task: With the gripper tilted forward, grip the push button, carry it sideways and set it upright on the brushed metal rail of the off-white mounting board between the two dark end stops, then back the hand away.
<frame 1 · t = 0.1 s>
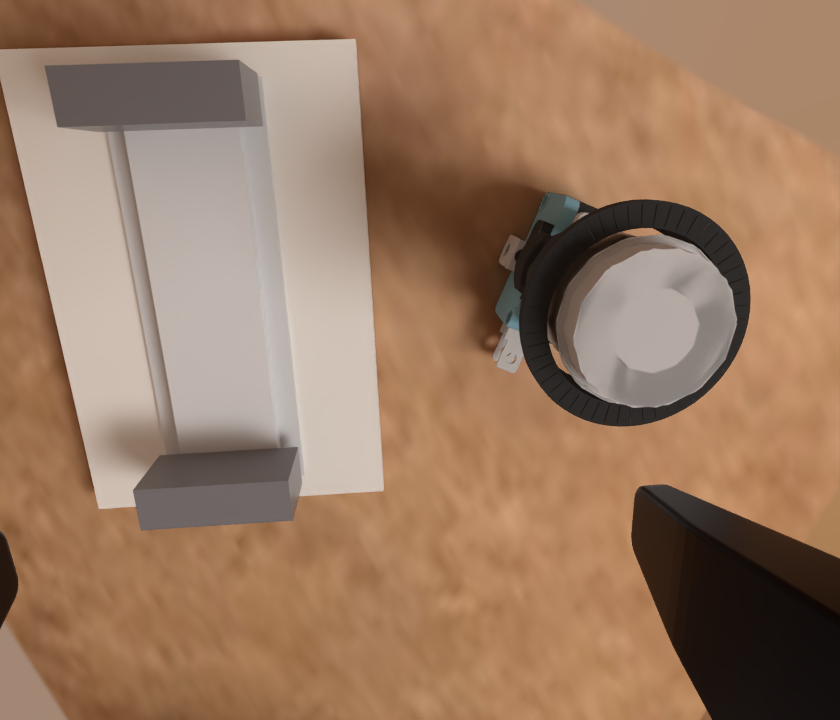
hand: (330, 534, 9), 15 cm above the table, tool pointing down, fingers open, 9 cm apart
push button: (530, 276, 23), on the table
rail board: (220, 292, 22), on the table
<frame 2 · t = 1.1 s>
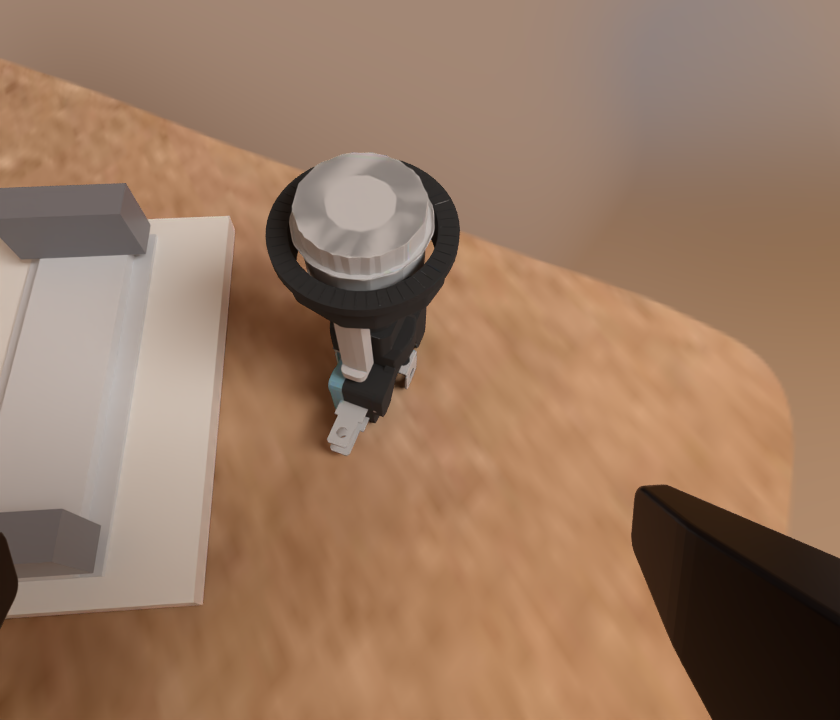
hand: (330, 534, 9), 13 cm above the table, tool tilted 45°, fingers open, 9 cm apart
push button: (371, 384, 25), on the table
rail board: (80, 397, 24), on the table
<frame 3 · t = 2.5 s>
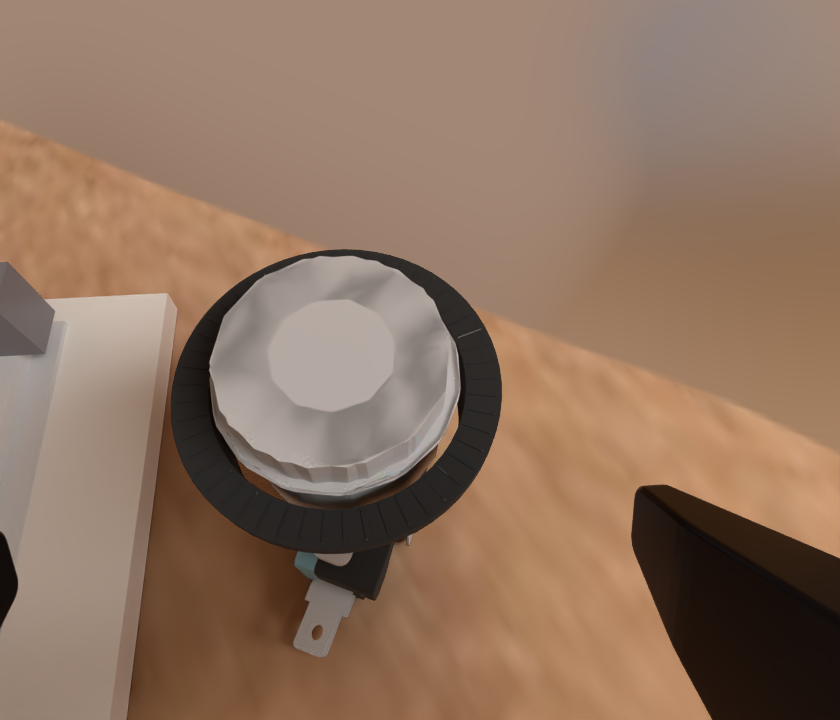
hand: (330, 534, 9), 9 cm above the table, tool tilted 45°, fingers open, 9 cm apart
push button: (359, 534, 18), on the table
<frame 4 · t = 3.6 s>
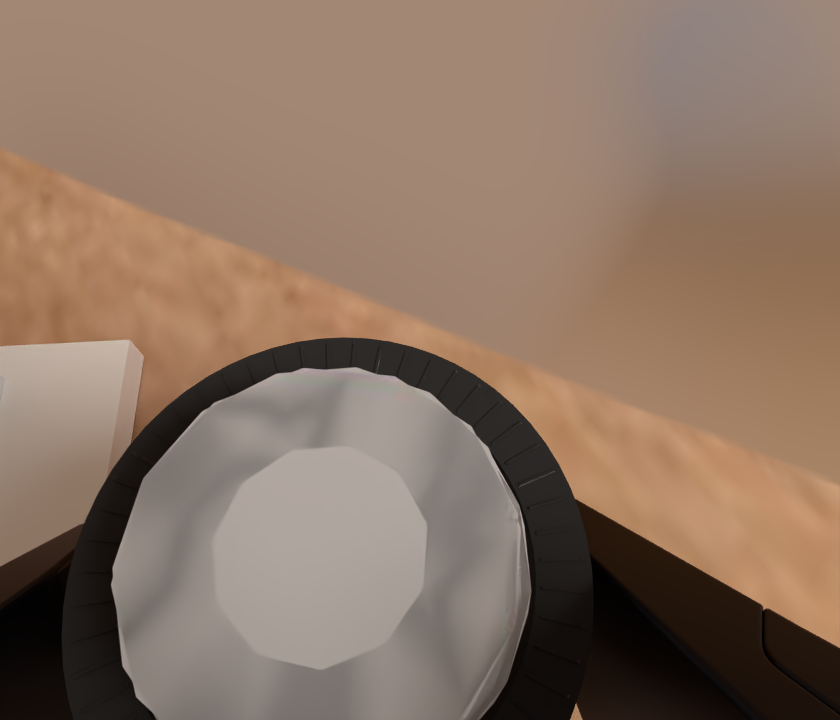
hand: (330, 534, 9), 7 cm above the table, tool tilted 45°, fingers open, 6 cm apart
push button: (363, 651, 14), on the table, touching gripper
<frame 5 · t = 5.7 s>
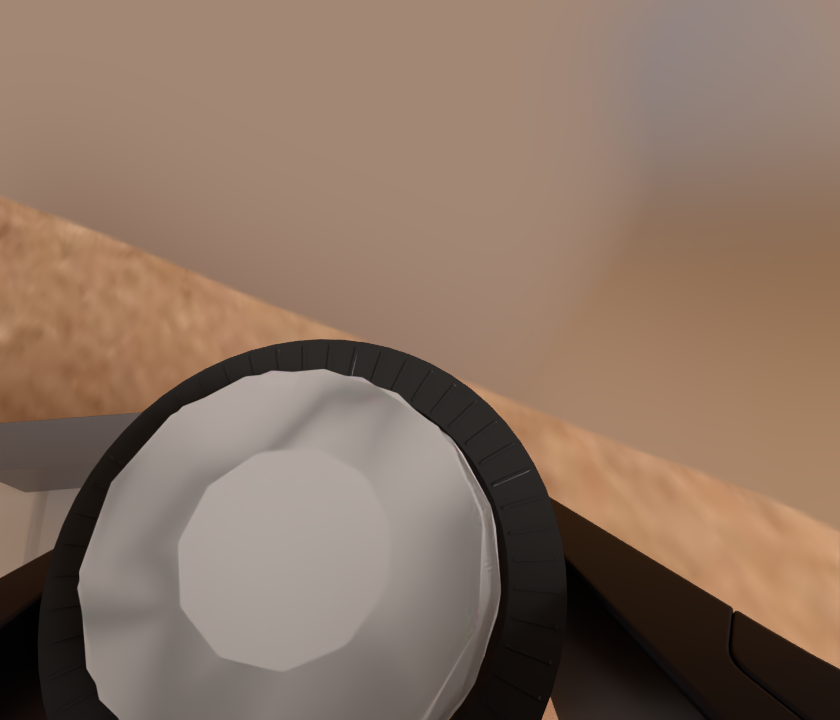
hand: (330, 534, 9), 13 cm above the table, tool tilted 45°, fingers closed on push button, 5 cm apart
push button: (365, 652, 14), point 6 cm above the table, touching gripper
rail board: (104, 668, 19), on the table
when the fingers open (9 cm above the table, at t = 7.8 s): push button stays where it is, resting on rail board.
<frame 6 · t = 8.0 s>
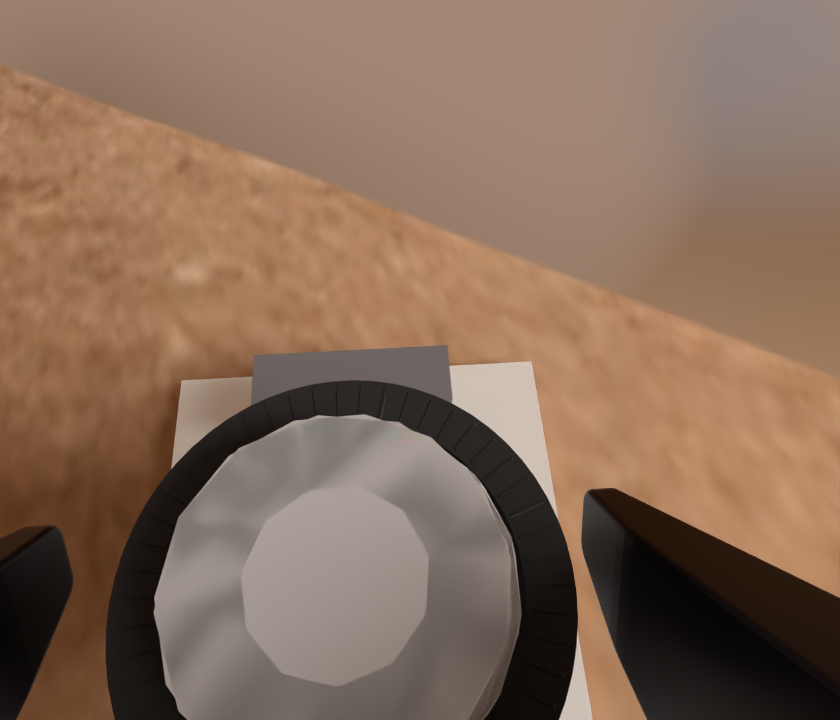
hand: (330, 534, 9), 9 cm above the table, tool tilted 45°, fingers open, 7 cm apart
push button: (369, 660, 15), point 2 cm above the table, touching rail board
rail board: (369, 652, 16), on the table
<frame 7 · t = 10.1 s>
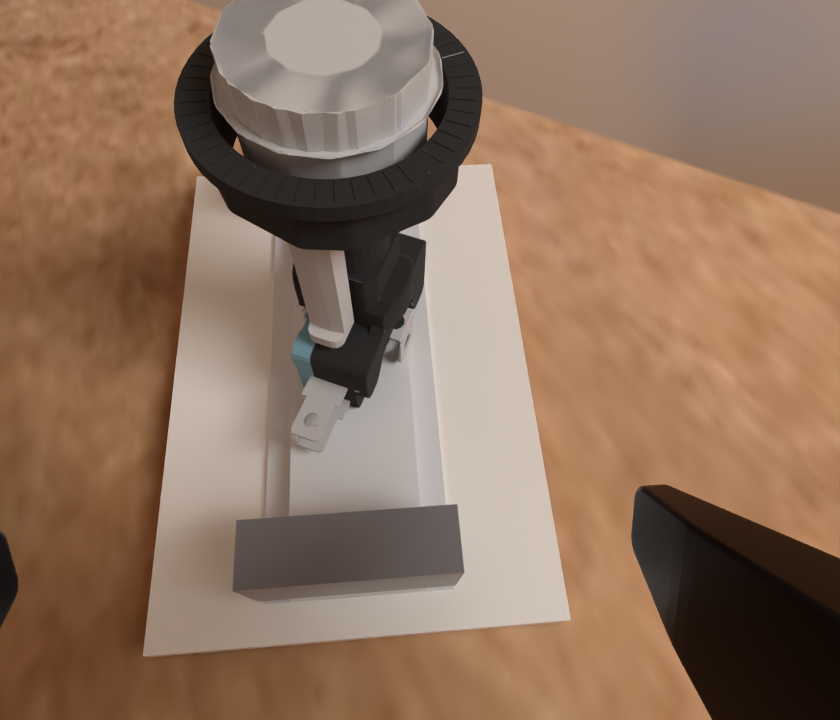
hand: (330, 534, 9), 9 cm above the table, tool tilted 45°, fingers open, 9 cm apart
push button: (354, 357, 19), point 2 cm above the table, touching rail board
rail board: (354, 374, 20), on the table
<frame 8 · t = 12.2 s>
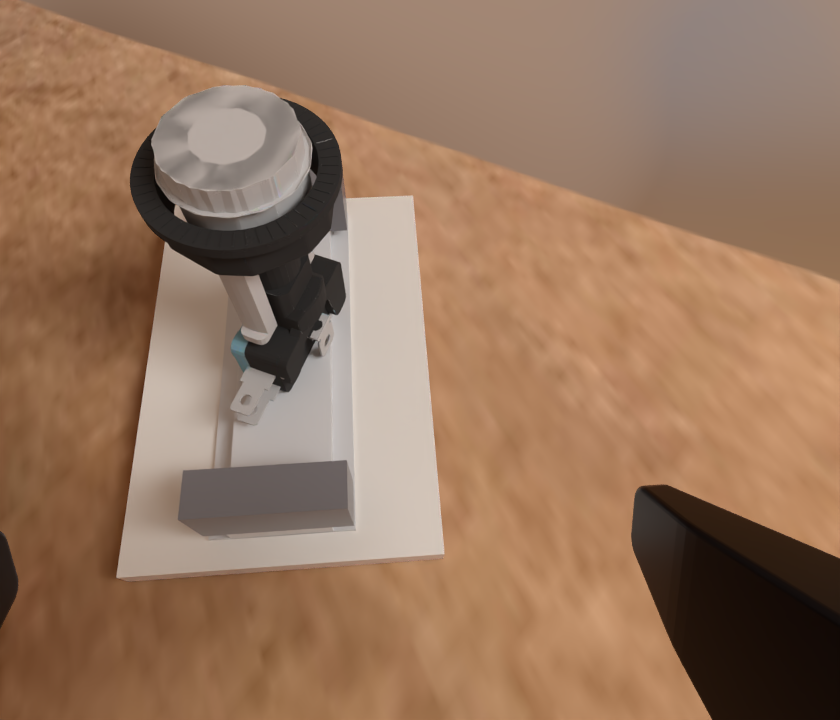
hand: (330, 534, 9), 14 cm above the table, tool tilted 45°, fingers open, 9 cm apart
push button: (288, 353, 23), point 2 cm above the table, touching rail board
rail board: (292, 367, 25), on the table
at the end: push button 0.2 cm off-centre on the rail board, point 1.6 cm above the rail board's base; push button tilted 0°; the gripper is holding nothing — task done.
